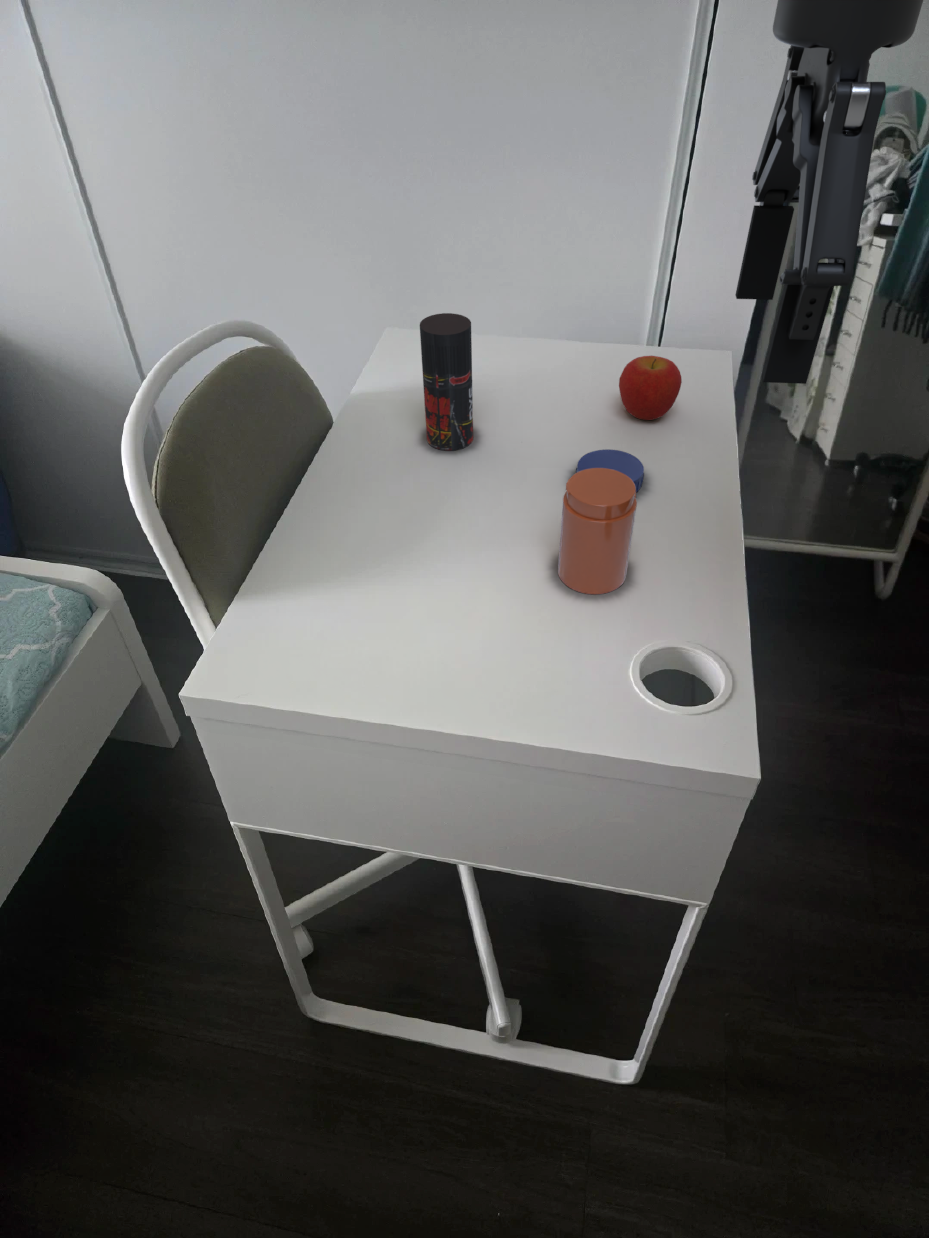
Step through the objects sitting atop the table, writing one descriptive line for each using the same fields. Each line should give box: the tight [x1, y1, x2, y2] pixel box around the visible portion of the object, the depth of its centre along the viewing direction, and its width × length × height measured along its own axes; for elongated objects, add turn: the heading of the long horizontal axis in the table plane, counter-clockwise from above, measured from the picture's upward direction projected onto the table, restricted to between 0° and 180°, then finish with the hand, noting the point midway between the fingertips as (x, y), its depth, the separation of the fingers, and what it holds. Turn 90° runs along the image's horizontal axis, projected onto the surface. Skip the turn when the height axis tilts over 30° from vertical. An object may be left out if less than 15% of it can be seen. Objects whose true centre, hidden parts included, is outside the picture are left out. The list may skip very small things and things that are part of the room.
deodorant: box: [419, 312, 474, 452], centre depth 98 cm, size 6×6×15 cm
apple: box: [618, 355, 683, 421], centre depth 104 cm, size 8×8×8 cm
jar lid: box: [575, 448, 645, 493], centre depth 95 cm, size 8×8×2 cm
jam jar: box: [557, 468, 638, 595], centre depth 80 cm, size 7×7×11 cm
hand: (767, 336), depth 58 cm, fingers open, 13 cm apart
